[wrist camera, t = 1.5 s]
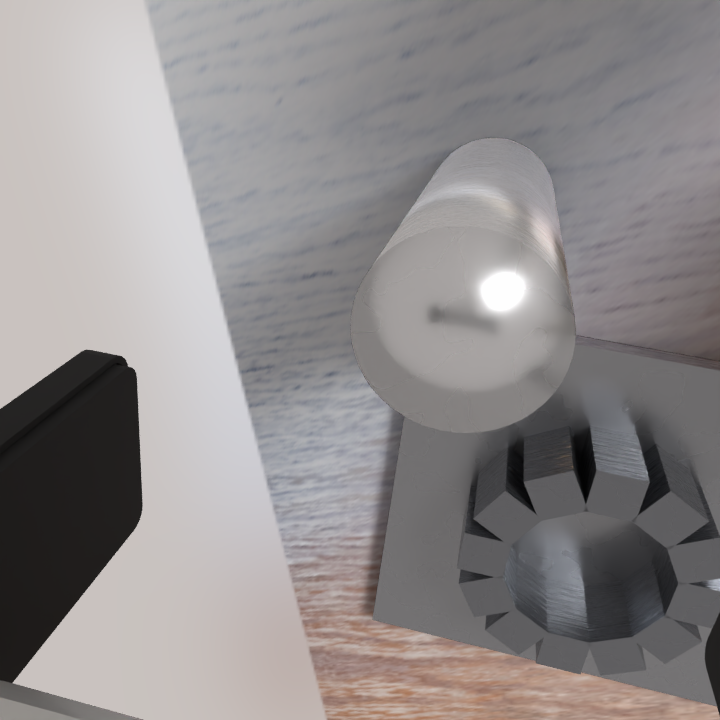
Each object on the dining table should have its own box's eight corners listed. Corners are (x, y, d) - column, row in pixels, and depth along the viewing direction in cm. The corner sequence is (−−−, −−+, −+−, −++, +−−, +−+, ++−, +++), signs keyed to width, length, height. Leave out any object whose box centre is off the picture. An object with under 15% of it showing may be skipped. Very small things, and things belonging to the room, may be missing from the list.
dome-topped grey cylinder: (438, 129, 27) (362, 208, 15) (567, 147, 26) (602, 247, 14) (414, 288, 30) (334, 466, 18) (530, 308, 29) (531, 509, 17)
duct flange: (423, 307, 30) (407, 349, 26) (864, 387, 28) (921, 446, 24) (375, 606, 38) (358, 672, 34) (714, 690, 36) (737, 772, 32)
